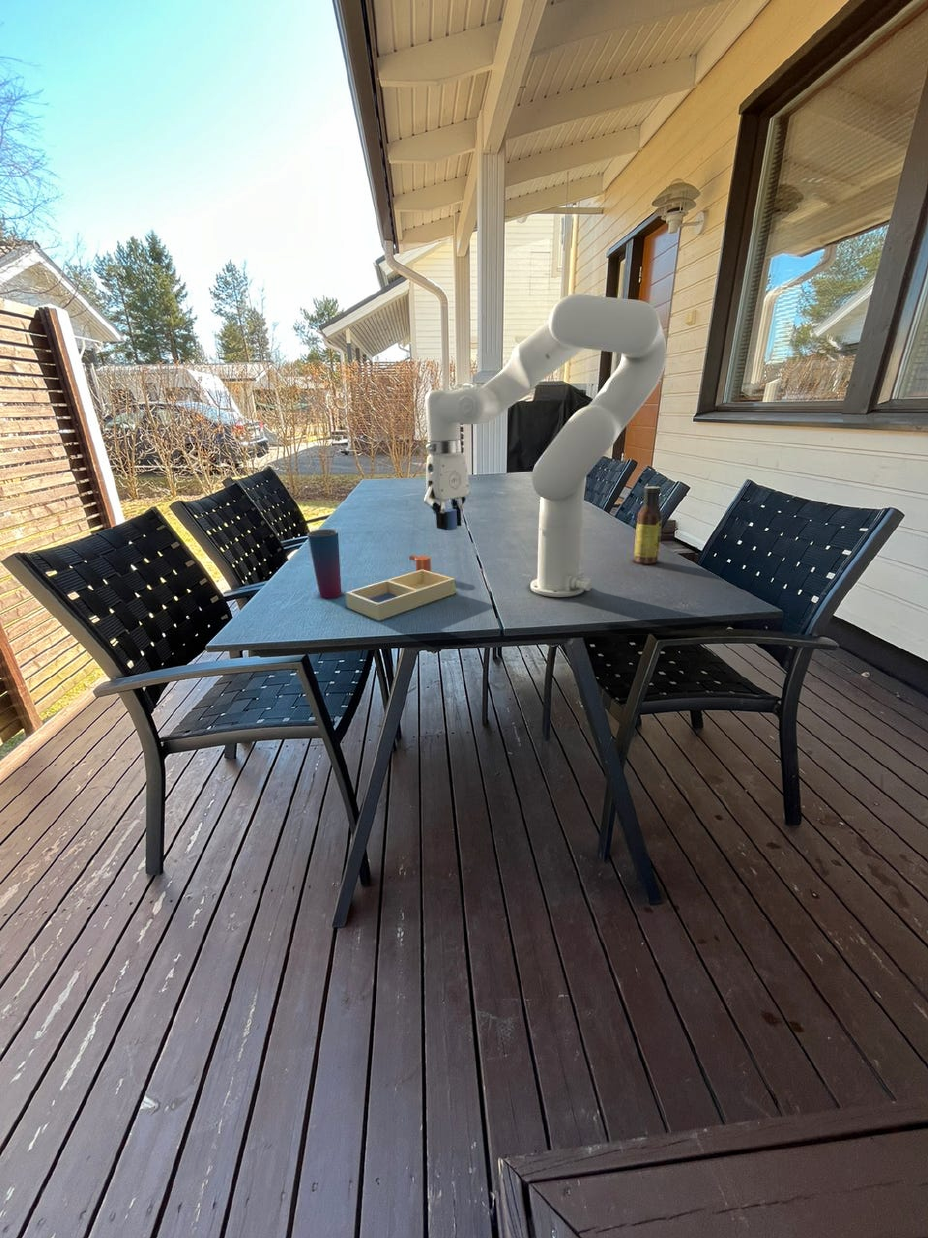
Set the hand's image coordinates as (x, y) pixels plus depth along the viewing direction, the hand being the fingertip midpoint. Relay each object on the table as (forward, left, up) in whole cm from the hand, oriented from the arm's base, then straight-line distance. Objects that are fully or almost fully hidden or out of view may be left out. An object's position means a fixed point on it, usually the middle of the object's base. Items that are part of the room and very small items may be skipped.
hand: (449, 526), depth 128 cm
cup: (+13, +27, -14) cm, 33 cm away
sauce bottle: (-30, -45, -14) cm, 56 cm away
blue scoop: (+1, 0, -1) cm, 1 cm away
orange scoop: (+10, +2, -14) cm, 17 cm away
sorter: (-3, +18, -14) cm, 22 cm away
